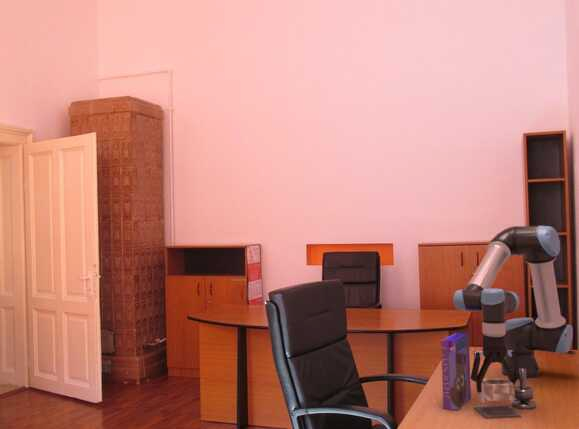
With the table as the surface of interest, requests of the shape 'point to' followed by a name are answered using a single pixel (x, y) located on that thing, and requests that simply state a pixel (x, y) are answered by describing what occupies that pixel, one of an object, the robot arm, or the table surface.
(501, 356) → the robot arm
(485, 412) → the rubber mat
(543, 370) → the table surface
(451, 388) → the cereal box
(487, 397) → the square frame
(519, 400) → the steel stand
